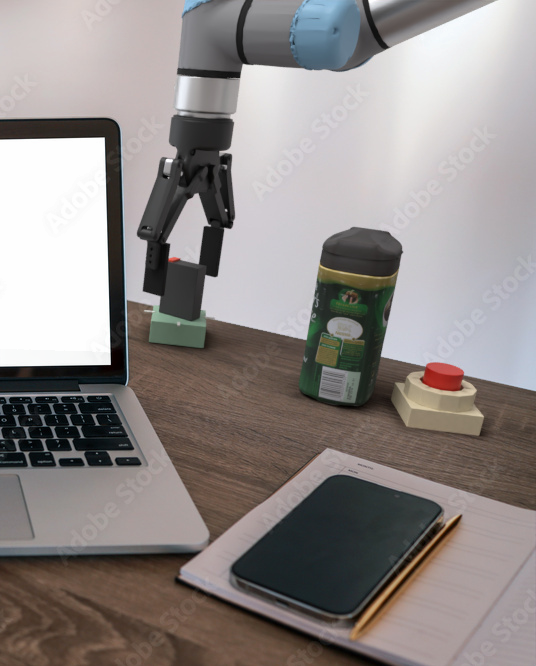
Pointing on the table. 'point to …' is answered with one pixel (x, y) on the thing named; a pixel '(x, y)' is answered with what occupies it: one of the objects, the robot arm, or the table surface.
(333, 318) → the coffee jar
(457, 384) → the button
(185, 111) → the robot arm
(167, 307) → the black box red top
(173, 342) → the dial panel
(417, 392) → the button housing
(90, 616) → the table surface
